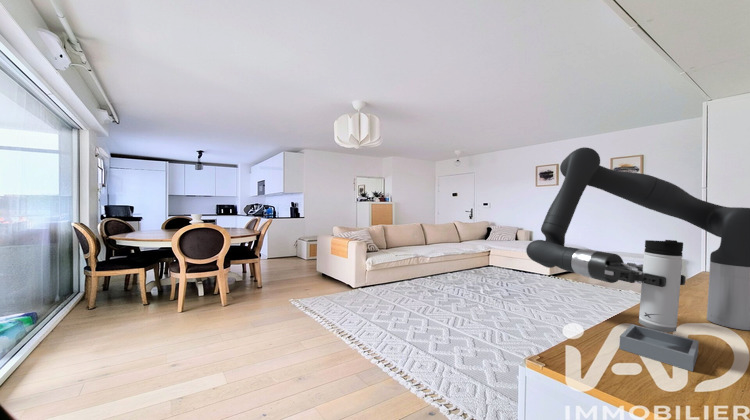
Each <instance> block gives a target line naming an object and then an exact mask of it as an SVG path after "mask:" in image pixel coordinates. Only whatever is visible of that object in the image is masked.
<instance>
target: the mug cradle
mask: <svg viewBox="0 0 750 420" xmlns="http://www.w3.org/2000/svg"><path fill="white" fill-rule="evenodd" d="M619 350H621V351H624V352H628V353H631V354H635V355H637V356H641V357H644V358H648V359H651V360H654V361H657V362H660V363H664V364H667V365H670V366H674V367H677V368H679V369H682V370H686V371H689V372H692V373H693V372H694V369H695V366H696V362H697V359H698V355H699V340H696V339H692V338H688V337H685V336H681V335H676V334H673V333H670V332H661V331H657V330H653V329H650V328H647V327H645V326H642V325H641V326H640V325H637V324H632V323H631V324H630V325H629V326H628V327H627V328H626V329H625V330H624V331H623V332H622V333H621V335H620V336H619Z"/></svg>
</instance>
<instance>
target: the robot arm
mask: <svg viewBox="0 0 750 420" xmlns="http://www.w3.org/2000/svg"><path fill="white" fill-rule="evenodd" d="M559 170H560V173H561V175H562V176H563V177H564V180H563V182H562V185H561V186H560V189H559V191H558V193H557V195H556V196H555V198H554V200H553V201H552V203H551V204H550V207H549V208H548V211H547V212H546V215H545V218H544V220H543V221H542V222H543V223H542V224H541V226H540V227H541V228H540V232H541V233H542V234H543V235H544V237H545V240H543V239H536V240H533V241H531V242H529V243H528V245H526V249H525V250H526V252H525V253H526V255H527V256H528V258H529V259H530V260H531V261H533V262H535V263H537V264H539V265H541V266H543V267H545V268H550V269H552V268H555V267H557V268H559V269H560V270H563V271H566V272H571V273H574V274H577V275H581V276H583V277H586V278H590V279H593V280H597V281H601V282H606V283H610V284H614V283H616V282H618V281H621V282H626V283H630V284H635V283H637V284H641V285H642V283H646V284H650V285H654V286H659V287H665V286H666V278H665V277H663V276H658V275H653V274H648V273H644V272H643V263H641V264H636V263H633V262H627V263H625V262H624V260H623V257H621V256H620V255H619V254H617V253H613V252H606V251H602V250H601V251H600V250H593V249H585V248H577V247H571V246H565V242H566V234H567V233H568V230H569V227H570V224H571V222H572V219H573V218H574V214H575V213H576V210H577V208H578V205H579V202H580V200H581V197H582V196H583V193H584V191H585V190H586V188H587V186H588V187H592V188H595V189H598V190H601V191H604V192H606V193H609V194H612V195H613V196H616V197H617V198H618V197H619V198H621V199H623V200H626V201H629V202H631V203H633V204H636V205H638V206H641V207H643V208H645V209H648V210H652V211H654V212H658V213H660V214H662V215H666V216H670V217H672V218H676V219H679V220H682V221H684V222H687V223H690V225H693V226H695V227H698V228H699V229H700V230H701V229H702V230H703V231H706V232H707V233H709V234H711V235H714V236H716V237H718V238H720V244H719V246H718V248H717V249H716V250H713V251H711V253H710V255H709V257H710V258H709V275H708V276H709V277H708V290H707V291H708V292H707V293H708V294H707V306H706V307H707V309H706V320H707V321H709V322H710V323H713V324H716V325H719V326H723V327H726V328H732V329H735V330H741V331H742V330H743V331H750V207H737V206H736V207H735V206H733V207H731V206H730V207H729V206H724V205H720V204H716V203H712V202H709V201H705V200H702V199H700V198H697V197H695V196H693V195H691V194H690V193H689V192H687V191H686V190H685V189H683V188H681V187H680V186H678V185H676V184H675V183H672V182H670V181H667V180H666V179H665V180H664V179H662V178H659V177H656V176H652V175H650V174H646V173H639V172H633V171H621V170H615V169H611V168H608V167H605V166H604V165H603V166H602V165H601V156H600V154H599V153H598V152H597V151H596V150H595V149H593V148H591V147H585V146H583V147H580V148H577V149H575V150H573V151H572V152H570V153H569V154H568V155H567V156H566V157H565V158H564V159H563V160H562V162H561V163H560V166H559ZM686 278H687V277H686V276H685V275H684V274H681V282H680V286H684V285H685V286H686Z"/></svg>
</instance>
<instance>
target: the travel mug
mask: <svg viewBox="0 0 750 420" xmlns="http://www.w3.org/2000/svg"><path fill="white" fill-rule="evenodd" d="M683 249H684V242H682V241H678V240H673V239H665V240H652V239H651V240H649V239H645V241H644V251H643V253H644V254H643V261H642V265H643V272H644V273H648V274H653V275H658V276H663V277H665V278H666V286H665V287H659V286H654V285H650V284H646V283H641V288H640V301H639V312H638V315H639V316H638V324H640V325H641V326H642V327H645V328H649V329H653V330H657V331H661V332H665V333H676V332H677V327H678V317H679V316H678V315H679V314H678V313H679V305H680V304H679V303H680V294H681V293H680V291H681V285H680V282H681V275H682V268H683V266H682V265H683V259H682V258H683V257H684V256H683Z"/></svg>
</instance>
